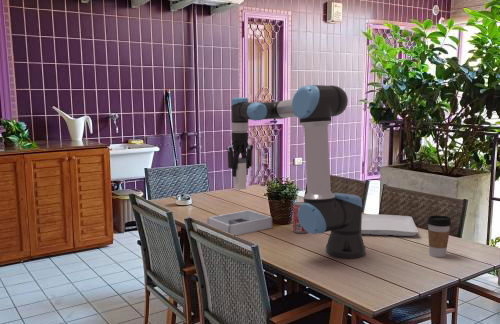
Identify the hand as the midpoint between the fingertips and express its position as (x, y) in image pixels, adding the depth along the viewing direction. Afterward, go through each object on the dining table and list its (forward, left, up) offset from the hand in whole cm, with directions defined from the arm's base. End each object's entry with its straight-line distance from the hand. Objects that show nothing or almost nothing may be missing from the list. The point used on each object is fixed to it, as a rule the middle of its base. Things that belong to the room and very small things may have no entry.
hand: (240, 182), depth 223 cm
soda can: (-22, -18, -22) cm, 35 cm away
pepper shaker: (0, 0, -3) cm, 3 cm away
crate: (0, 0, -21) cm, 21 cm away
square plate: (-42, -51, -22) cm, 69 cm away
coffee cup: (-77, -37, -22) cm, 89 cm away
